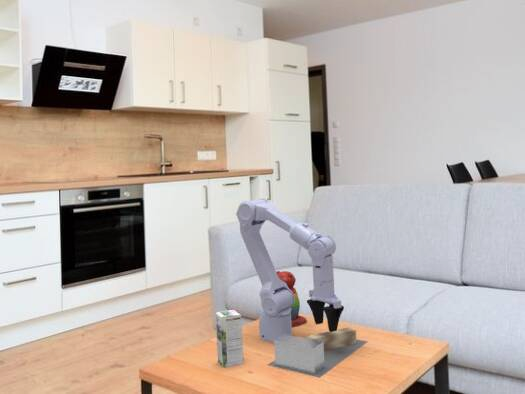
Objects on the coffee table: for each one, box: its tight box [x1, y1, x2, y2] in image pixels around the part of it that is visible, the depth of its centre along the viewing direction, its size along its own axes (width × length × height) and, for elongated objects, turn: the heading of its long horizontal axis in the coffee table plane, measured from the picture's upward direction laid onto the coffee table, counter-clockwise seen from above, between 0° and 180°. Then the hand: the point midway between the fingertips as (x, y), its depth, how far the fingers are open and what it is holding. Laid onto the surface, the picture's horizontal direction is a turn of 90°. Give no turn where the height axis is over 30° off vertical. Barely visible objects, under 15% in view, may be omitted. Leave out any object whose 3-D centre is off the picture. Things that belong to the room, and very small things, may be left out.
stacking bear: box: [273, 270, 308, 328], centre depth 170 cm, size 11×10×18 cm
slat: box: [301, 326, 357, 351], centre depth 143 cm, size 18×3×4 cm, turn 114°
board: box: [267, 338, 368, 378], centre depth 140 cm, size 16×28×1 cm, turn 144°
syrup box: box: [215, 309, 244, 369], centre depth 137 cm, size 6×6×14 cm
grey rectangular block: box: [273, 335, 325, 374], centre depth 131 cm, size 12×5×7 cm, turn 54°
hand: (326, 327), depth 143 cm, fingers open, 7 cm apart
